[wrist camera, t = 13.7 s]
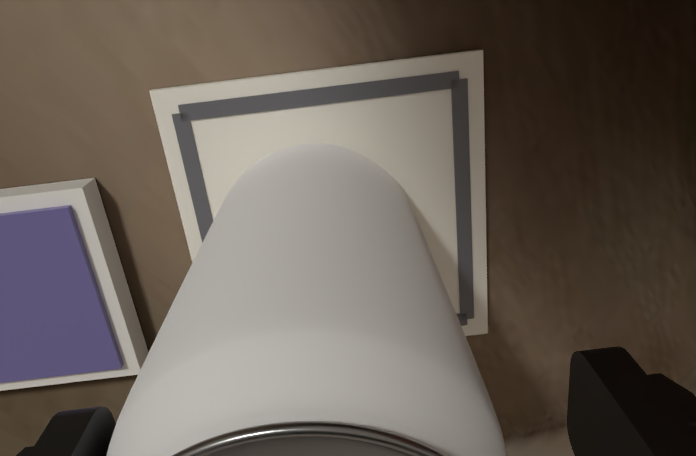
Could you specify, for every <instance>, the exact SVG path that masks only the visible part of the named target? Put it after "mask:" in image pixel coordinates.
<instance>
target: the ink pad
mask: <svg viewBox="0 0 696 456" xmlns="http://www.w3.org/2000/svg"><path fill="white" fill-rule="evenodd" d="M148 353H149V352H148V349H147V346H146V343H145V339H144V336H143V333H142V330H141V326H140V323H139V320H138V317H137V313H136V310H135V307H134V304H133V300H132V297H131V294H130V291H129V287H128V284H127V281H126V278H125V274H124V271H123V268H122V265H121V261H120V258H119V255H118V251H117V248H116V245H115V242H114V238H113V235H112V232H111V229H110V225H109V222H108V219H107V216H106V212H105V209H104V206H103V203H102V199H101V196H100V193H99V190H98V186H97V183H96V180H95V178H89V179H80V180H72V181H64V182H55V183H47V184H39V185H31V186H22V187H14V188H6V189H0V391H3V390H11V389H20V388H28V387H37V386H45V385H54V384H62V383H71V382H79V381H88V380H96V379H105V378H113V377H122V376H130V375H138V374H139V372H140V370H141V368H142V366H143V363H144V361H145V359H146V357H147V355H148Z"/></svg>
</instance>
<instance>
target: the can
mask: <svg viewBox="0 0 696 456" xmlns="http://www.w3.org/2000/svg"><path fill="white" fill-rule="evenodd" d="M107 456H507V451H506V447H505V443H504V439H503V435H502V431H501V427H500V424H499V421H498V418H497V416H496V413H495V410H494V407H493V405H492V402H491V399H490V397H489V394H488V391H487V389H486V386H485V384H484V381H483V379H482V376H481V374H480V371H479V369H478V366H477V364H476V361H475V359H474V356H473V354H472V351H471V349H470V346H469V344H468V341H467V339H466V336H465V334H464V332H463V329H462V327H461V324H460V322H459V319H458V317H457V314H456V312H455V309H454V307H453V305H452V302H451V300H450V297H449V295H448V292H447V290H446V288H445V285H444V283H443V280H442V278H441V275H440V273H439V271H438V268H437V266H436V263H435V261H434V259H433V256H432V254H431V251H430V249H429V247H428V244H427V242H426V239H425V237H424V235H423V232H422V230H421V227H420V225H419V223H418V220H417V218H416V216H415V213H414V211H413V209H412V206H411V204H410V202H409V200H408V198H407V196H406V194H405V192H404V191H403V189H402V188H401V186H400V185H399V184H398V182H397V181H396V180H395V179H394V178H393V177H392V176H391V175H390V174H389V173H388V172H387V171H386V170H385V169H383V168H382V167H381V166H380V165H378V164H377V163H375V162H374V161H372V160H371V159H369V158H368V157H366V156H364V155H362V154H360V153H358V152H356V151H354V150H351V149H348V148H345V147H342V146H337V145H331V144H320V143H311V144H301V145H295V146H290V147H287V148H283V149H280V150H278V151H275V152H273V153H271V154H269V155H267V156H265V157H263V158H262V159H260V160H258V161H257V162H256V163H254V164H253V165H252V166H250V167H249V168H248V169H247V170H246V171H245V172H244V173H243V174H242V175H241V176H240V177H239V178H238V180H237V181H236V182H235V183H234V185H233V186H232V188H231V189H230V191H229V192H228V194H227V196H226V198H225V199H224V201H223V203H222V205H221V207H220V209H219V211H218V213H217V215H216V217H215V219H214V221H213V223H212V225H211V227H210V229H209V231H208V233H207V235H206V237H205V239H204V241H203V243H202V245H201V247H200V249H199V251H198V253H197V255H196V257H195V259H194V261H193V263H192V265H191V267H190V269H189V271H188V273H187V275H186V277H185V279H184V281H183V283H182V285H181V287H180V289H179V291H178V293H177V295H176V297H175V299H174V302H173V304H172V306H171V308H170V310H169V312H168V314H167V316H166V318H165V320H164V322H163V324H162V326H161V328H160V330H159V332H158V334H157V336H156V339H155V341H154V343H153V345H152V347H151V349H150V351H149V353H148V355H147V357H146V359H145V361H144V363H143V366H142V368H141V370H140V372H139V374H138V376H137V378H136V380H135V382H134V385H133V387H132V389H131V391H130V393H129V395H128V397H127V400H126V402H125V404H124V407H123V409H122V411H121V413H120V416H119V418H118V420H117V423H116V426H115V429H114V432H113V435H112V438H111V441H110V444H109V447H108V451H107Z"/></svg>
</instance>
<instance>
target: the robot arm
mask: <svg viewBox="0 0 696 456" xmlns="http://www.w3.org/2000/svg"><path fill="white" fill-rule="evenodd" d="M115 426H116V423H115V421H114V418H113V416H112V413H111V412H110V410H109V409H108V408H106V407H95V408H86V409H78V410H70V411H62V412H58V413H57V414H55V415H54V416H53V418H52V419H51V420H50V422H49V424H48V425H47V427H46V428H45V430H44V432H43V433H42V435H41V436H40V438H39V440H38V441H37V443H36V444H35V446H32V447H25V448H24V449H23V450H22V451H21V452H20V453H19V454H17V455H16V456H107V451H108V447H109V444H110V441H111V438H112V435H113V432H114V429H115ZM567 428H568V435H569V439H570V443H571V446H572V449H573V451H574V454H575V456H696V397H695V395H694V394H693V393H691V392H690V391H688V390H687V389H685V388H683V387H682V386H680V385H678V384H677V383H675V382H674V381H672V380H670V379H669V378H667V377H666V376H664V375H662V374H661V373H659V374H651V375H646V373H645V372H644V371H643V370H642V369H641V367H640V366H639V365H638V364H637V363H636V361H635V360H634V359H633V358H632V357H631V355H630V354H629V353H628V352H627V351H626V350H625V349H624V348H622V347H609V348H601V349H593V350H584V351H576V352H574V353H573V355H572V357H571V363H570V379H569V395H568V411H567Z"/></svg>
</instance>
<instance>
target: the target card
mask: <svg viewBox="0 0 696 456" xmlns="http://www.w3.org/2000/svg"><path fill="white" fill-rule="evenodd" d="M149 92H150V96H151V100H152V104H153V108H154V112H155V116H156V120H157V123H158V127H159V131H160V135H161V139H162V143H163V147H164V151H165V155H166V159H167V163H168V167H169V171H170V175H171V179H172V183H173V187H174V191H175V195H176V199H177V203H178V207H179V211H180V215H181V219H182V223H183V227H184V231H185V235H186V239H187V243H188V247H189V251H190V255H191V259H192V263H193V261H194V259H195V257H196V255H197V253H198V251H199V249H200V247H201V245H202V243H203V241H204V239H205V237H206V235H207V233H208V231H209V229H210V227H211V225H212V223H213V221H214V219H215V217H216V215H217V213H218V211H219V209H220V207H221V205H222V203H223V201H224V199H225V198H226V196H227V194H228V192H229V191H230V189H231V188H232V186H233V185H234V183H235V182H236V181H237V180H238V178H239V177H240V176H241V175H242V174H243V173H244V172H245V171H246V170H247V169H248V168H249V167H250V166H252V165H253V164H254V163H256V162H257V161H258V160H260V159H262V158H263V157H265V156H267V155H269V154H271V153H273V152H275V151H278V150H280V149H283V148H287V147H290V146H295V145H301V144H311V143H320V144H331V145H337V146H342V147H345V148H348V149H351V150H354V151H356V152H358V153H360V154H362V155H364V156H366V157H368V158H369V159H371V160H372V161H374V162H375V163H377V164H378V165H380V166H381V167H382V168H383V169H385V170H386V171H387V172H388V173H389V174H390V175H391V176H392V177H393V178H394V179H395V180H396V181H397V182H398V184H399V185H400V186H401V188H402V189H403V191H404V192H405V194H406V196H407V198H408V200H409V202H410V204H411V206H412V209H413V211H414V213H415V216H416V218H417V220H418V223H419V225H420V227H421V230H422V232H423V235H424V237H425V239H426V242H427V244H428V247H429V249H430V251H431V254H432V256H433V259H434V261H435V263H436V266H437V268H438V271H439V273H440V275H441V278H442V280H443V283H444V285H445V288H446V290H447V292H448V295H449V297H450V300H451V302H452V305H453V307H454V309H455V312H456V314H457V317H458V319H459V322H460V324H461V327H462V329H463V332H464V334H465V336H470V335H479V334H487V333H488V310H487V249H486V188H485V126H484V65H483V50H481V49H479V50H471V51H463V52H455V53H447V54H439V55H430V56H422V57H414V58H406V59H398V60H390V61H381V62H373V63H365V64H357V65H349V66H340V67H332V68H324V69H316V70H308V71H300V72H291V73H283V74H275V75H267V76H259V77H250V78H242V79H234V80H226V81H218V82H210V83H201V84H193V85H185V86H177V87H169V88H161V89H152V90H150V91H149Z"/></svg>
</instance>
